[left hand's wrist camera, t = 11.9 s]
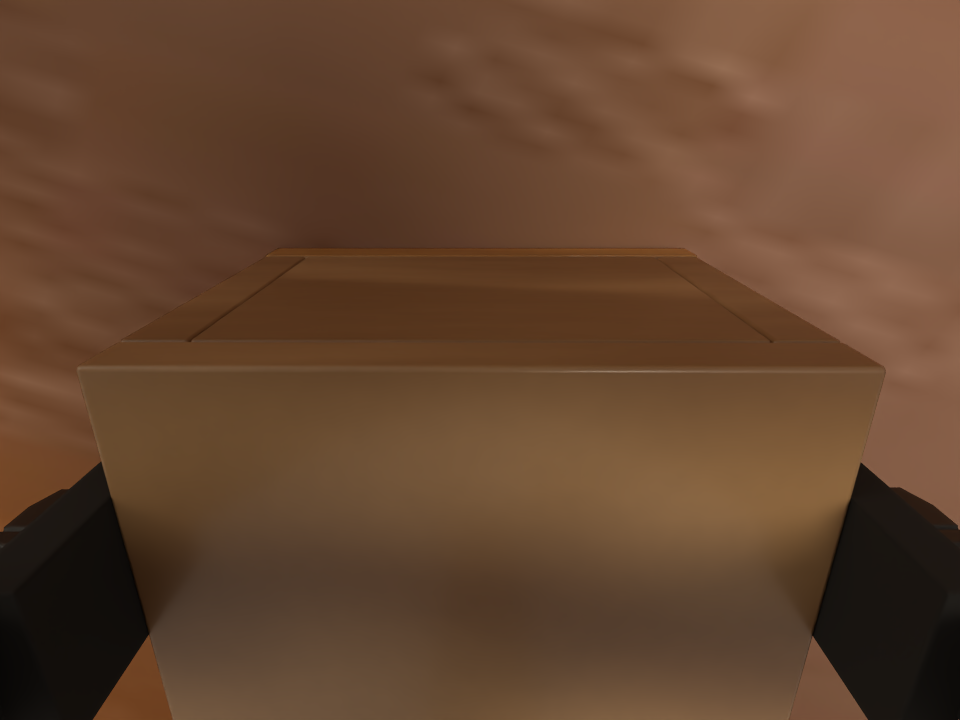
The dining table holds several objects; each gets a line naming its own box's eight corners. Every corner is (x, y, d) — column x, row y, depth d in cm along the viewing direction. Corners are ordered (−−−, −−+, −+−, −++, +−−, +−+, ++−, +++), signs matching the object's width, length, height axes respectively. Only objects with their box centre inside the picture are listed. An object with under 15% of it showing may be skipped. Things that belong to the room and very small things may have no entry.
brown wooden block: (619, 752, 23) (691, 1077, 15) (342, 751, 23) (269, 1075, 15) (684, 248, 16) (891, 366, 8) (278, 247, 16) (70, 365, 8)
